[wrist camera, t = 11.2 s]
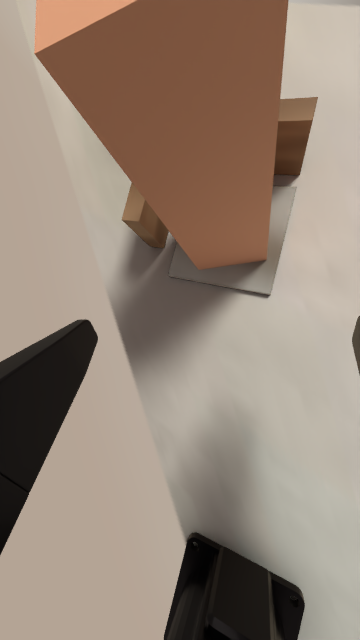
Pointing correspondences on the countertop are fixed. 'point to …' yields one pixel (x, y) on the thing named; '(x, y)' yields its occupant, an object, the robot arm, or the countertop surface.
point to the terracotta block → (180, 107)
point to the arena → (287, 162)
